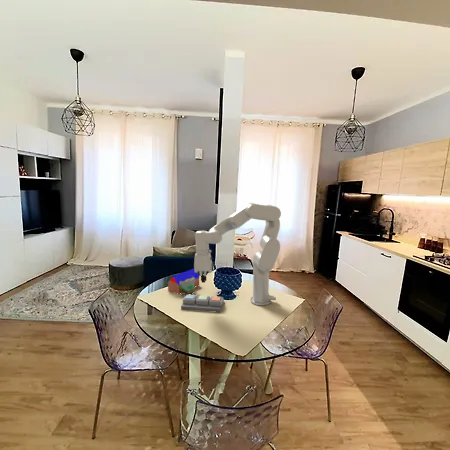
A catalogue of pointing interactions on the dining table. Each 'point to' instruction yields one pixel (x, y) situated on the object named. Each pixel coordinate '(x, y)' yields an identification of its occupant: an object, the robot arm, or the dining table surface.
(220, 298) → the button terracotta
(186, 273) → the house
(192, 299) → the button slate
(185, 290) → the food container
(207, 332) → the dining table surface
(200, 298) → the button sage
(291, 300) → the dining table surface
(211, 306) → the button panel
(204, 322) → the dining table surface
